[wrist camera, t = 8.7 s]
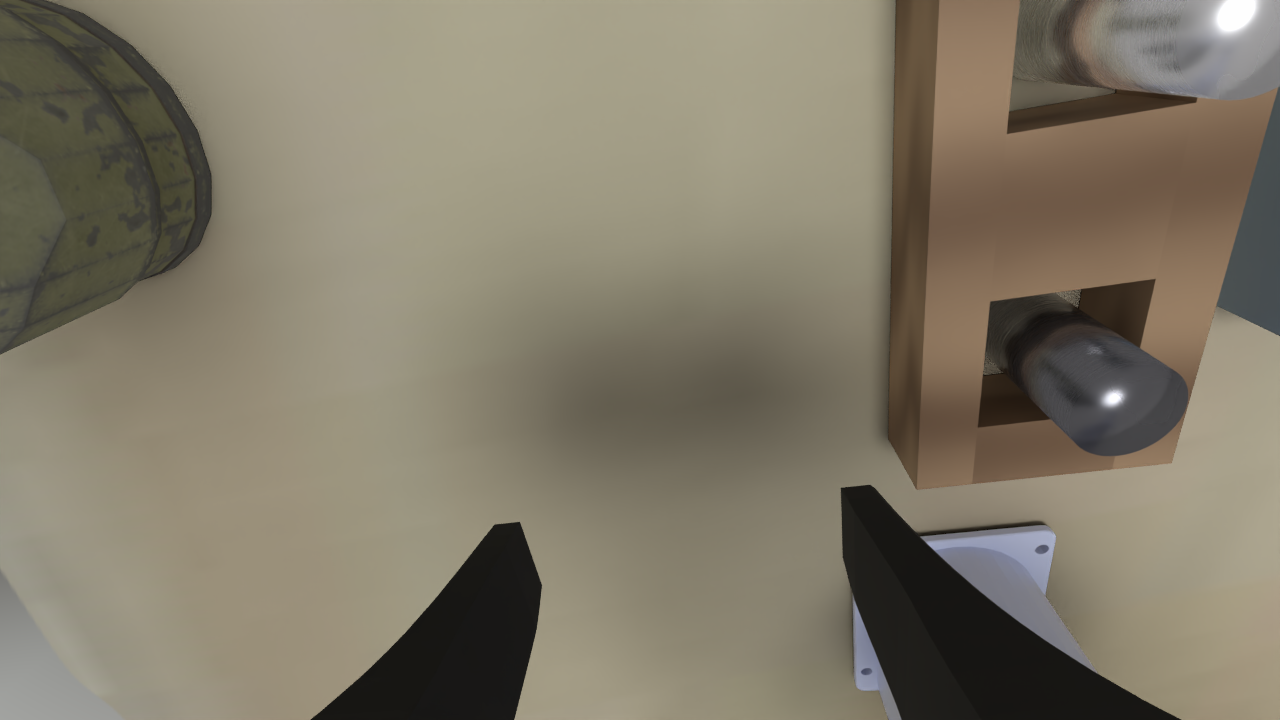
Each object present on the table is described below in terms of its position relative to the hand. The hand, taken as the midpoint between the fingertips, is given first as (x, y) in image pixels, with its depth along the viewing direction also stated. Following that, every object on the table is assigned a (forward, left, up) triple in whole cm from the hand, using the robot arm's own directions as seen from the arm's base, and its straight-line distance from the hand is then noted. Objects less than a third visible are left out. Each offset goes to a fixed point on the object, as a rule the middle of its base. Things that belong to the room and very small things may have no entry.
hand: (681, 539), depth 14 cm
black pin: (0, -12, -9) cm, 15 cm away
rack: (+4, -12, -9) cm, 15 cm away
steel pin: (+9, -12, -9) cm, 17 cm away
